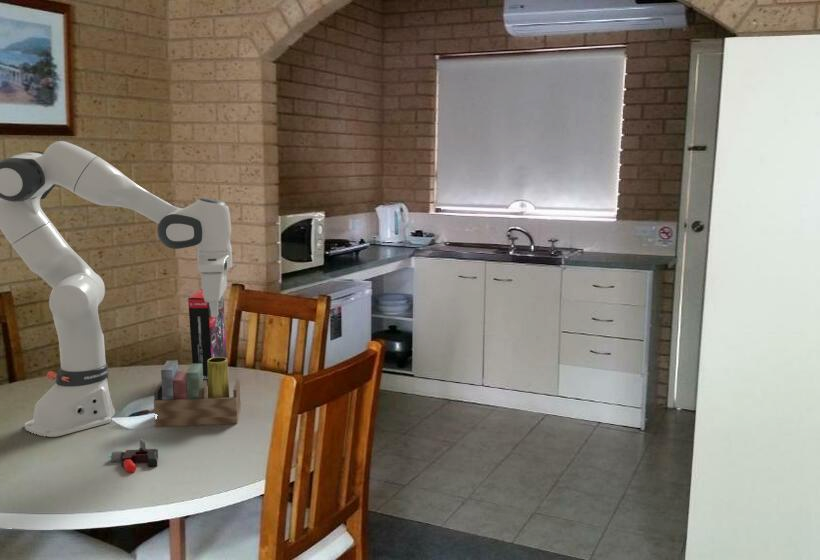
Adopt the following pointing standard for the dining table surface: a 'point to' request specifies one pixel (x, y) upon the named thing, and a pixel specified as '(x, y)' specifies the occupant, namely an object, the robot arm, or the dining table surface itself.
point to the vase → (218, 377)
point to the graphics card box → (206, 332)
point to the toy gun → (136, 457)
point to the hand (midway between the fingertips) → (216, 312)
